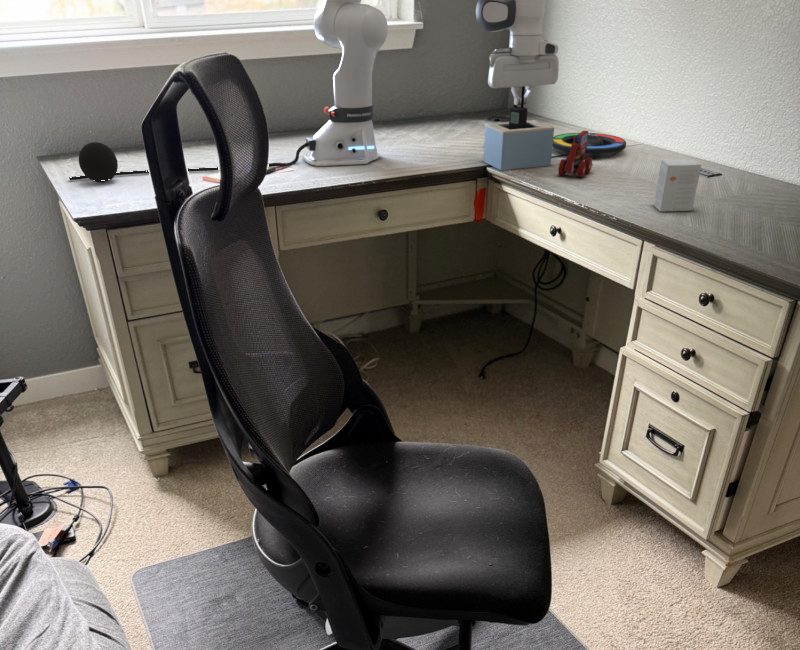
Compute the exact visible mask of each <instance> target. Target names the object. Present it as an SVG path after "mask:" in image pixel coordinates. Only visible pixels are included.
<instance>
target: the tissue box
mask: <svg viewBox="0 0 800 650" xmlns="http://www.w3.org/2000/svg"><path fill="white" fill-rule="evenodd" d="M554 134H555V127H554V126H552V125H549V124H546V123H544V122H541V121H539V120H536V119H532V120H527V122H526V128H523V129H511V130H509V121H506V122H495V123H493V122H492V123H485V124H484V140H483V141H484V142H483V163H485V164H487V165H489V166H491V167H493V168H495V169H497V170H499V171H509V170H510V171H511V170H519V169H528V168H529V169H530V168H540V167H549V166H551V165H552V154H553V147H552V146H553V137H554V136H555V135H554Z"/></svg>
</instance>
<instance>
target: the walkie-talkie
mask: <svg viewBox="0 0 800 650" xmlns="http://www.w3.org/2000/svg"><path fill="white" fill-rule="evenodd" d="M525 90H526V89H525V86H522V87H521V97H520V98H522V101H521V105H520V106H518V105H514V104H513V107H510V108H509V115H508V116H509V117H508V118H509V119H508V122H509V130H511V129H523V128H526V122H527V121H528V108H527V107H524V105H525V104H524V95H525V93H526V91H525Z"/></svg>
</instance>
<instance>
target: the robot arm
mask: <svg viewBox="0 0 800 650" xmlns="http://www.w3.org/2000/svg"><path fill="white" fill-rule="evenodd" d="M361 2H362V0H323V2H322V4H321V5H320V6H319V8H318V9H317V10H316V12H315V13H314V17H313V30H314V33H315V36H316V37H317V39H318V40H319V42H321V43H323V44H325V45H326V46H328V47H331V48H333V49H340V50H341V51H342V52H341V60H340V63H339V66H338V68H337V69H336V70H335V71H334V73H333V76H332V84H333V85H332V86H333V103H334V104H333V106H332V107H329V106H324V108H323V112H324V114H325V115H327V116H328V121H327V122H326V123H325V124H324V125H323V126H322V127H321V128H320V129H318V131H317V132H316V133H314V135H313V136H312V137H306V138H305V143H303V144H302V145H300V146H299V147H298V149H297V150H296V152H295V157H294V159H293V160H291V161H290V162H269V163H268V164H269V167H268V168H273V167H285V166H290V165H295V164H296V163H297V162H298V161H299V158H300V153H301V151H303V150H304V149H305V148H307V149H308V151H310V152H308V153H306V154H305V155H304V162H306V163H307V164H309V165H311V166H316V167H327V166H330V167H331V166H349V165H351V166H352V165H367V164H369V163H371V162H372V161H375V160H378V159H379V157H380V155H379V151H378V148H377V144H376V137H375V130H374V128H375V127H374V126H375V109H374V104H373V71H374V65H375V61H376V58H377V54H378V52H379V51H380V49H381V47H382V46H383V45H384V44H385V42H386V40H387V37H388V33H389V32H388V31H389V26H388V20H387V17H386V15H385V14H384V13H383V11H381V10H380V9H379V8H376V7H374V6H372V5H370V4H367V3H361ZM545 13H546V0H477V2H476V6H475V18H476V21H477V24H478V26H479V27H480V28H481V29H482V30H483V31H486V32H489V33H498V32H501V31H509V41H508V47H503V48H495V49H494V50H493V51H491V53H490V55H489V69H488V74H487V75H488V76H487V85H488V86H489V87H490V88H491V89H506V88H510V92H511V94H512V96H513V106H514V105H517V106H521V101H522V98H521V97H520V96H519V93H518V92H519V91H520V88H522V86H525V90H526V91H525V92H524V105H529V99H530V97H531V95H532V94H533V92H534V86H548V85H549V86H550V85H556V83H557V81H558V79H559V69H560V68H559V66H560V65H559V58H558V56H557V54H558V53H559V45H558V44H556V43H553V42H551V41H550V42H549V40H547V39H543V35H544V30H543V21H544V17H545ZM216 167H217V168H205V167H198V168H199V169H189V168H190V167H187V168H188V171H189V173H191V172H215V171H218V172H219V170H218V167H219V166H216ZM144 170H145V171H137V170H132V171H133V172H123V171H119V172H120V173H116V175H115V176H114V177H117V176H127V175H144V174H150V173H149V172H148V170H149V169H144ZM146 170H147V172H146ZM76 176H77V175H76ZM76 176H74V175H73V176H69V177H68V179H69V182H70V181H79V180H87V179H88V180H89V178H88V177H86V176H82V175H79V176H80V177H76ZM70 177H72V178H70Z"/></svg>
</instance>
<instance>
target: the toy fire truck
mask: <svg viewBox="0 0 800 650" xmlns="http://www.w3.org/2000/svg"><path fill="white" fill-rule="evenodd" d="M578 133H579V134H578V135H576V136H575V137H574V139H573V141H575V142H574V143H572V145H571V149H570V153H569V155H568V156H567V155H566V158H562V159H560V161H559V164H558V169H557V172H558V175H559V176H561V177H562V176H566V174H569V175H574V174H576V176H577V178H582V179H583V178H584V177H585V175H586V174H587V175H588V174H589V173H591V170H592V166H593V158H589V157H587V158H584V157H585V150H586V144H587V139H588V133H589V130H582V131H580V132H578Z"/></svg>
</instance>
